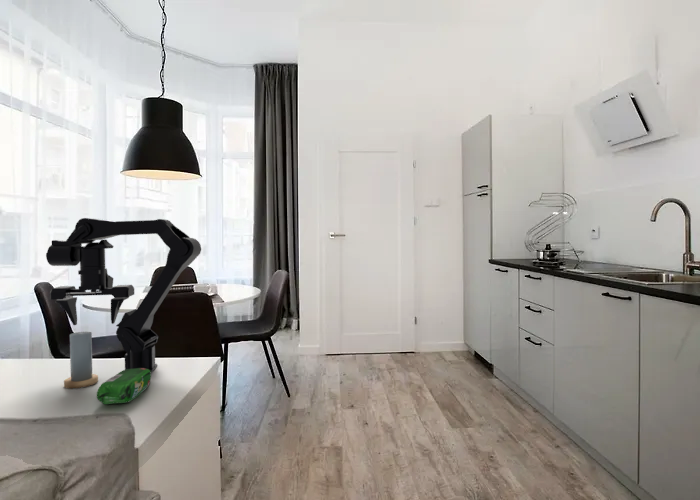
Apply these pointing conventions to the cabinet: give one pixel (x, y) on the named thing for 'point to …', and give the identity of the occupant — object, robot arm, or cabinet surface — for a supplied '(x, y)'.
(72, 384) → the tan round disc
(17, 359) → the cabinet surface
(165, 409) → the cabinet surface
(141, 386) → the snack package
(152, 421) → the cabinet surface
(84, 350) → the grey rounded cylinder
